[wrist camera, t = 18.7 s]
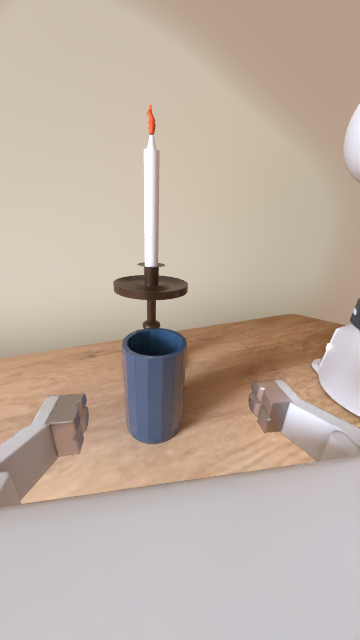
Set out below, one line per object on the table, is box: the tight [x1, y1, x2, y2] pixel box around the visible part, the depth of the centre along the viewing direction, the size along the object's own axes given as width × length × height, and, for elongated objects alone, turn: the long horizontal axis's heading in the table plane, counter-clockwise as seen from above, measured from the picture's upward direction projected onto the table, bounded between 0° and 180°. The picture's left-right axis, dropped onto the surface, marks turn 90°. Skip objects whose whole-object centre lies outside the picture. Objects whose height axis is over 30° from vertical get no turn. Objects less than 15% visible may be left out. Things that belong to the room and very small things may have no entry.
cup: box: [122, 328, 187, 444], centre depth 25 cm, size 7×7×11 cm
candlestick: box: [114, 105, 188, 329], centre depth 31 cm, size 11×11×35 cm
